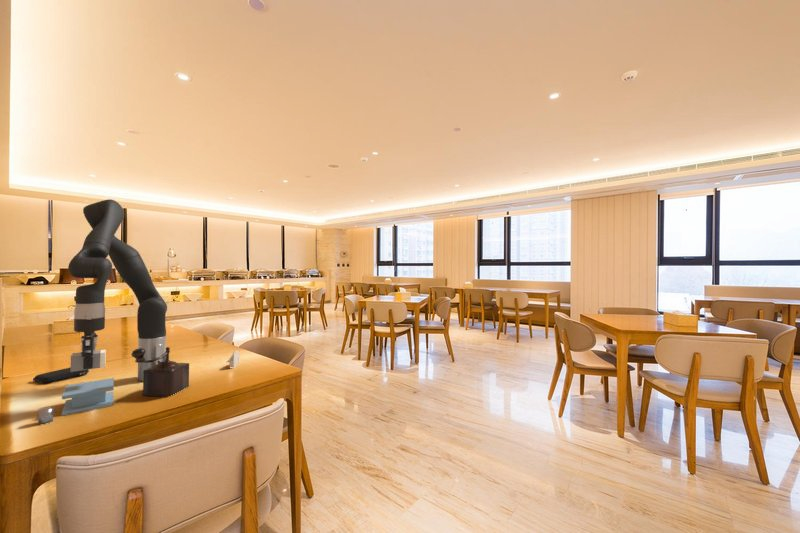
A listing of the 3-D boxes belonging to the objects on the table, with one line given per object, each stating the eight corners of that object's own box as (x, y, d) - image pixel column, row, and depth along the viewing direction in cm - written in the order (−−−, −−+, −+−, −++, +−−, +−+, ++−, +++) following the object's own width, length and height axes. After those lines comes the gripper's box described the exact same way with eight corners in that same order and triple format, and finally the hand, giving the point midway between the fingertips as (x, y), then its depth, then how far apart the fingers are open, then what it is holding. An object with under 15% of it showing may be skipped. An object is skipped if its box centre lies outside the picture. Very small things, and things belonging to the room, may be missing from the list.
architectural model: (225, 369, 148) (226, 353, 148) (232, 365, 155) (233, 349, 155) (233, 369, 148) (233, 353, 148) (240, 365, 155) (240, 349, 155)
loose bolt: (53, 418, 98) (54, 405, 98) (52, 422, 96) (52, 409, 96) (39, 422, 96) (39, 408, 96) (37, 425, 94) (37, 412, 94)
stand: (113, 394, 117) (113, 377, 117) (113, 405, 108) (113, 387, 108) (66, 403, 109) (66, 385, 109) (61, 415, 100) (61, 396, 100)
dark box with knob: (162, 385, 126) (163, 339, 126) (189, 386, 126) (190, 340, 126) (127, 402, 111) (128, 349, 111) (158, 403, 110) (159, 350, 110)
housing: (70, 371, 104) (70, 354, 104) (72, 368, 108) (72, 351, 108) (104, 367, 110) (105, 350, 110) (105, 363, 113) (105, 347, 113)
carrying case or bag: (46, 386, 125) (92, 374, 139) (46, 378, 125) (92, 367, 139) (30, 383, 128) (77, 371, 142) (30, 375, 128) (77, 364, 142)
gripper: (76, 314, 112) (75, 363, 112) (71, 320, 101) (70, 374, 101) (105, 313, 117) (104, 359, 117) (103, 318, 106) (102, 369, 106)
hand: (88, 366), depth 109 cm, fingers closed on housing, 5 cm apart
